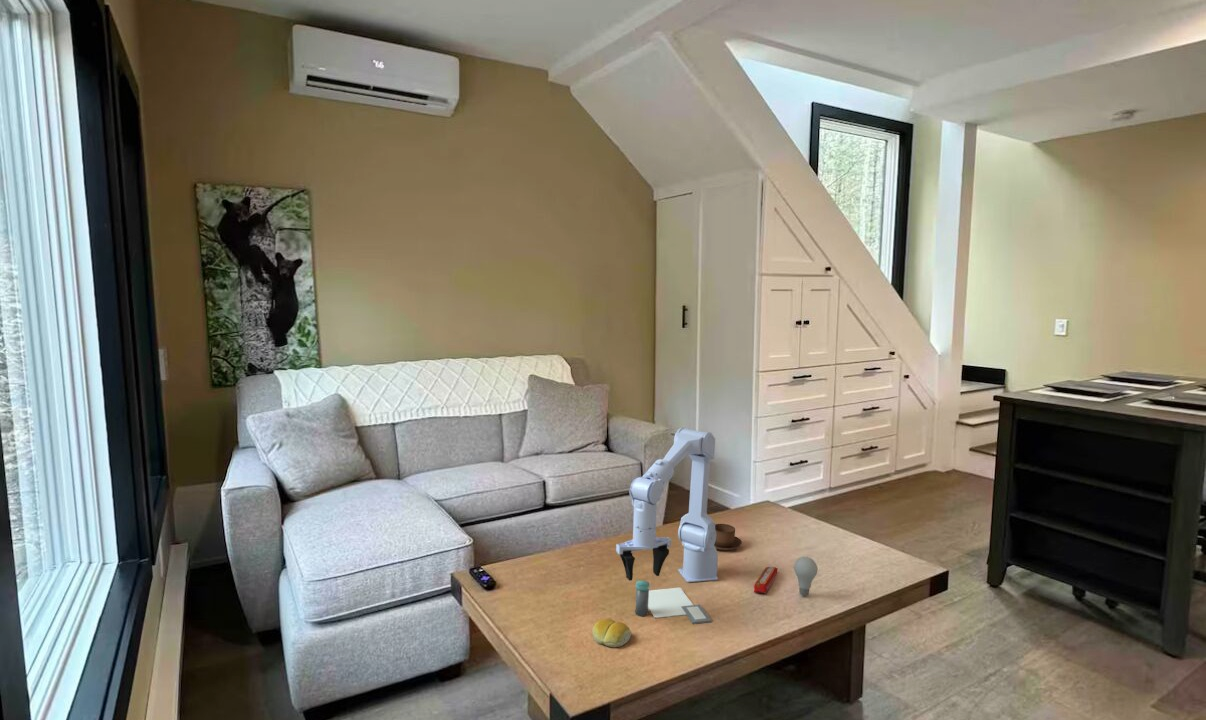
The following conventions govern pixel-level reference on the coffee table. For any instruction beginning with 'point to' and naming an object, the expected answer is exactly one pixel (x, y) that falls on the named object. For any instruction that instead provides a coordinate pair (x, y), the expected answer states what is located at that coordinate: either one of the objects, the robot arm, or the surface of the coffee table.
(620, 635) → the bread roll
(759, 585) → the candy bar
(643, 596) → the grey teal-capped tube
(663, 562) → the robot arm
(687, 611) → the picture frame
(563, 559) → the coffee table surface
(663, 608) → the paper
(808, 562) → the lightbulb
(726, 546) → the cup and saucer
